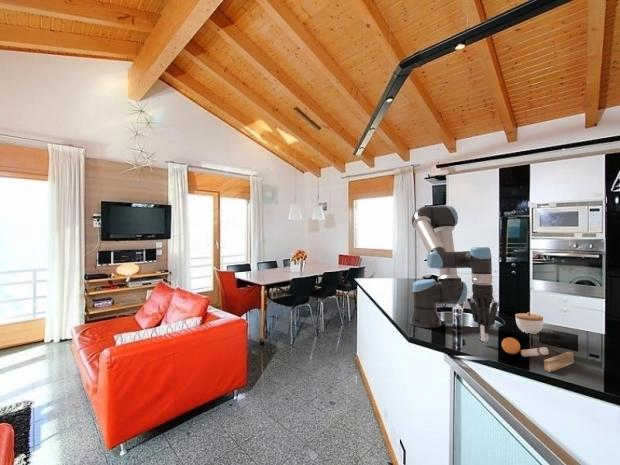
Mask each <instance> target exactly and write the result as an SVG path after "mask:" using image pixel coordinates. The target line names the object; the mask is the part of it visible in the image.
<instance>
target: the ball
mask: <svg viewBox="0 0 620 465" xmlns="http://www.w3.org/2000/svg"><path fill="white" fill-rule="evenodd" d="M501 348H502V349H503V351H504V352H505V353H507V354H510V355H516V354H518V353H520V352H521V343H520V342H519V341H518V340H517V339H516V338H513V337H512V336H511V337H510V336H509V337H505V338H503V339H502V341H501Z"/></svg>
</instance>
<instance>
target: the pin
mask: <svg viewBox="0 0 620 465" xmlns="http://www.w3.org/2000/svg"><path fill="white" fill-rule="evenodd" d="M520 354H521V356H522V357H523V358H526V357H527V358H528V357H535V356H546V355H549V354H550V352H549V349H548V348H547V347H546V346H545V347H544V346H542V347H536V348H528V349H520Z"/></svg>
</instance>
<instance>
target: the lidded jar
mask: <svg viewBox="0 0 620 465" xmlns="http://www.w3.org/2000/svg"><path fill="white" fill-rule="evenodd" d="M514 316H515V323H516V326H517V327H518V329H519V330H520V331H521V332H522V333H524V332H525V333H524V334H528V333H530V334H529V335H538V334H539V332H541V330H543V327H544V326H543V325H544V316H542V315H539V314H535V313H534V314H533V313H531V312H530V311H527V313H525V312H524V313H522V312H521V313H516V314H514ZM537 333H538V334H537Z"/></svg>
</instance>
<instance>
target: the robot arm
mask: <svg viewBox="0 0 620 465" xmlns="http://www.w3.org/2000/svg"><path fill="white" fill-rule="evenodd" d="M458 222H459V216H458V211H456V208H454V207H453V206H451V205H428V206H427V205H426V206H425V205H424V206H421V207H419V208H417V209H416V211H415V212H413V214H412V217H411V225H412V228H413V229H414V230H415V231H417V233H418V235H419V237H420V239H421V241H422V243H423V245H424V247H425V250H426V252H427V254H426V264H427V266H428V268H430V269H437V270H438V269H439V277H437V281H436V280H435V279H432V278H430V279H428V278H427V279H421V280H416V281H414V282H413V283H412V305H413V306H412V308H413V309H412V313H411V316H410V320H409V321H410V325H412V326H414V327H418V328H424V329H434V328H435V329H437V328H440V327H441V326H442V320H441V318H440V315H439V312H438V311H437V310H438V308H437V307H438V306H437V305H459V303H462V304H463V303H464V302H465V301H466V300H467V302H468V304H469V307H470V311H471V316H472V319H473V322H475V323H477V324H478V332H480V341H481V342H489V334H490V332H491V328H490V326H493V325H495V323H496V317H497V313H498V308H499V307H500V305H501V303H500V302H499V301H496V300H495V297H494V296H493V293H494V291H493V290H494V289H493V288H494V286H493V285H492V284H493V274H492V272H493V270H492V268H493V267H492V266H493V265H492V264H493V263H492V257H493V256H492V252H491V251H492V250H491V248H490V247H488V246H483V247H482V246H480V247H479V246H478V247H477V246H475V247H474V246H473V247H470V250H463V251H455V245H454V244H455V243H454V238H453V237H454V236H453V231H454V230H455V227H456V226H457V225H458ZM458 269H470V270H471V282H472V284H471V289H472V290H471V292H472V296H471V297H470V298H467V297H468V286H467V284H466V282H464V281H462V277H461V276H460V275H458Z"/></svg>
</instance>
